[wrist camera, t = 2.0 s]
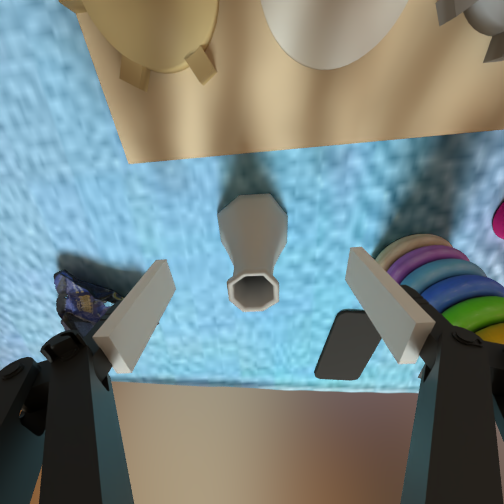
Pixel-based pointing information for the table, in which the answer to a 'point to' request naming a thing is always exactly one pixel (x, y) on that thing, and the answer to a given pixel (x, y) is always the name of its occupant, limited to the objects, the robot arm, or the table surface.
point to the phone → (348, 347)
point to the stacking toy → (448, 283)
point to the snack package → (81, 302)
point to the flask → (253, 249)
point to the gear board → (292, 72)
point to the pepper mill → (499, 222)
